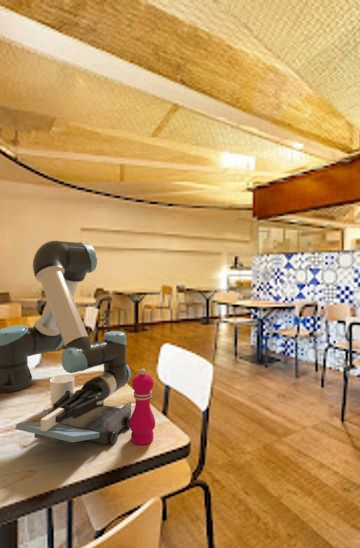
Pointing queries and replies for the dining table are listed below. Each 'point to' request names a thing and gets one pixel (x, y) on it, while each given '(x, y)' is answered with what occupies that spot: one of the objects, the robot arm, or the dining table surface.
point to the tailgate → (58, 432)
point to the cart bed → (102, 422)
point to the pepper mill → (142, 410)
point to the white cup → (60, 387)
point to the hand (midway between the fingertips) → (43, 425)
